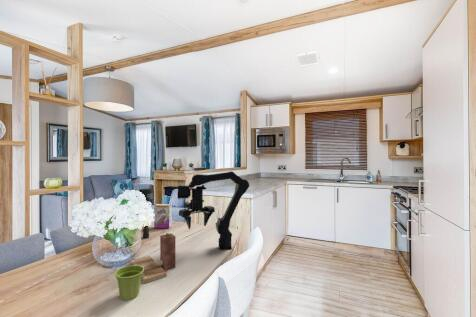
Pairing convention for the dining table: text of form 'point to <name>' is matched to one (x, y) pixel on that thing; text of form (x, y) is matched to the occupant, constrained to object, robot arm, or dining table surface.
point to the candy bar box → (163, 215)
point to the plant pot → (129, 281)
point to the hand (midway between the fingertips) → (197, 227)
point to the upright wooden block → (165, 253)
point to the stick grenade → (149, 197)
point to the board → (149, 273)
